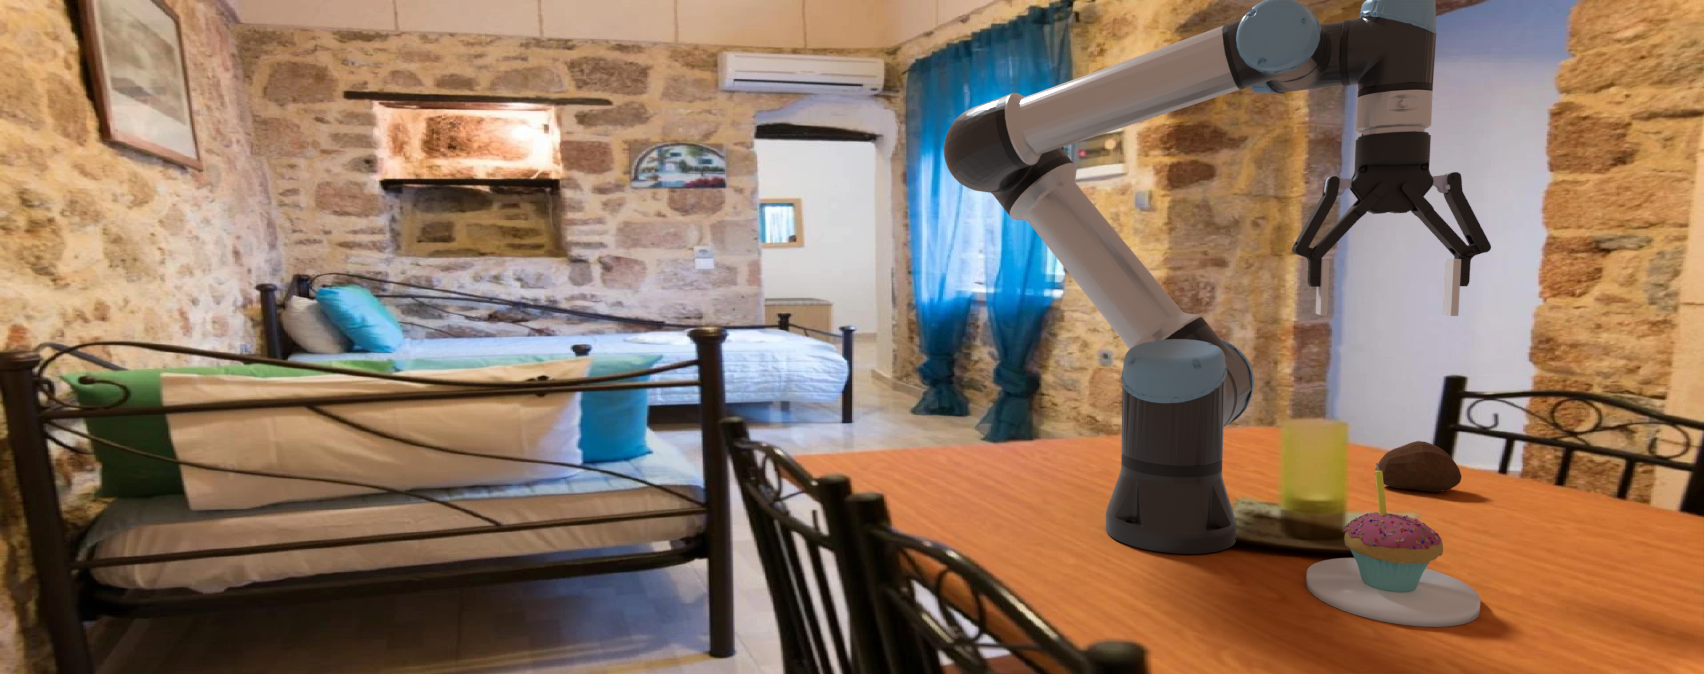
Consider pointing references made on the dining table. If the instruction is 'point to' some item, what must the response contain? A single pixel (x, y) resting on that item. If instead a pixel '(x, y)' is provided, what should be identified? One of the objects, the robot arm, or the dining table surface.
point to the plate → (1394, 596)
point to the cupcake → (1391, 546)
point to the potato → (1419, 468)
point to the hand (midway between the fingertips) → (1384, 315)
